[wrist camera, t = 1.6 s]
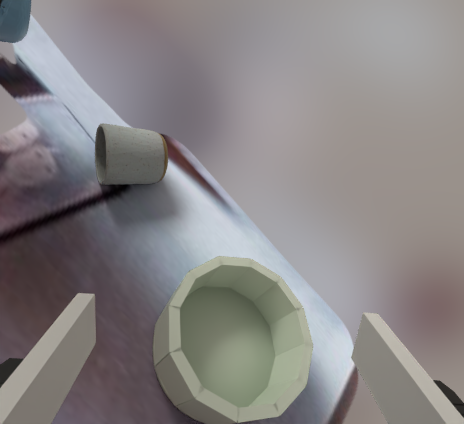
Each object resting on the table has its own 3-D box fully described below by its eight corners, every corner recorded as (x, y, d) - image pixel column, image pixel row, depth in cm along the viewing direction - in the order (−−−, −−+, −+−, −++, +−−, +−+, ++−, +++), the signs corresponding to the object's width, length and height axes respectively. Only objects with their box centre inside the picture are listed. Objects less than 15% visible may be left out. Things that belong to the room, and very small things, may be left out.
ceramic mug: (162, 193, 44) (176, 155, 38) (101, 197, 40) (107, 154, 34) (144, 141, 49) (154, 101, 43) (88, 139, 44) (92, 94, 39)
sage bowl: (150, 436, 28) (170, 433, 22) (153, 279, 36) (168, 251, 31) (289, 414, 33) (329, 408, 28) (263, 284, 42) (291, 262, 37)
